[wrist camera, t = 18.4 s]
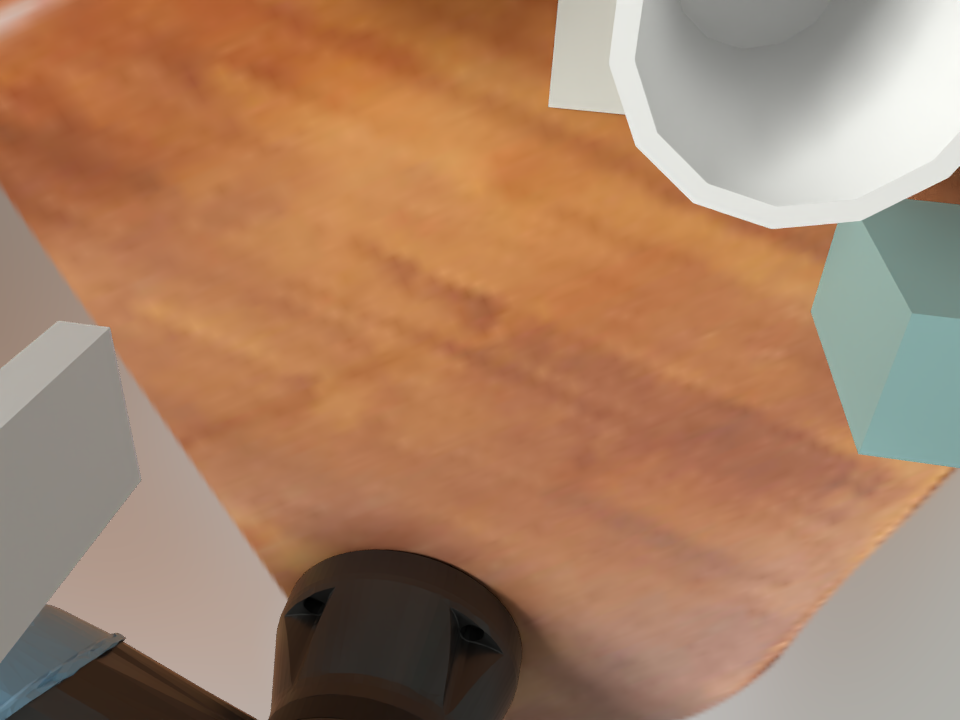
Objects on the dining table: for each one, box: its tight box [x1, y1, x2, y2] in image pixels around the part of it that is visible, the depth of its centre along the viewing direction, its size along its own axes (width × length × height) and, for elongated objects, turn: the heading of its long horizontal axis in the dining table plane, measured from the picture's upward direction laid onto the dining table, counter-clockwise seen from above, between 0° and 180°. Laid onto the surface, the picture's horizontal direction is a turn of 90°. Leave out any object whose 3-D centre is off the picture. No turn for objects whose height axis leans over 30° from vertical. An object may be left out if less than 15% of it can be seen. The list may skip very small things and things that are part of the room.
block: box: [811, 199, 960, 468], centre depth 31 cm, size 6×6×10 cm
